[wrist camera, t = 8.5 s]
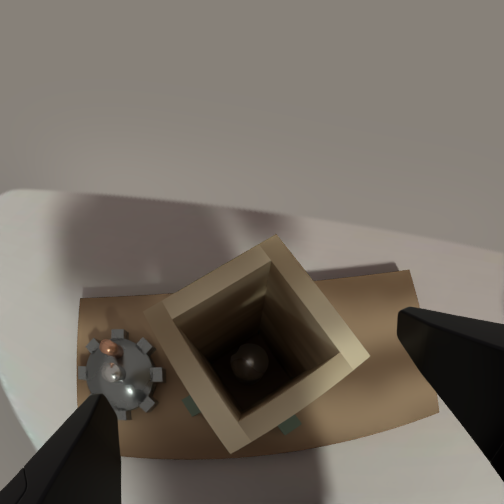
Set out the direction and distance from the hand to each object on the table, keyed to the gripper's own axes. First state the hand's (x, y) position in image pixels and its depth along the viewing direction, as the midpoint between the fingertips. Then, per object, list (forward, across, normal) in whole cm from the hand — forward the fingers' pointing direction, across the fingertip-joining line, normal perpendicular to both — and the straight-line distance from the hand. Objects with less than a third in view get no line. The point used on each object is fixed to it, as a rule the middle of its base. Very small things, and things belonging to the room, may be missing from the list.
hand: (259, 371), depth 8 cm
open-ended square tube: (+9, 0, +7) cm, 11 cm away
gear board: (+10, -1, +8) cm, 13 cm away
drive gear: (+10, +8, +6) cm, 14 cm away
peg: (+9, 0, +7) cm, 11 cm away
